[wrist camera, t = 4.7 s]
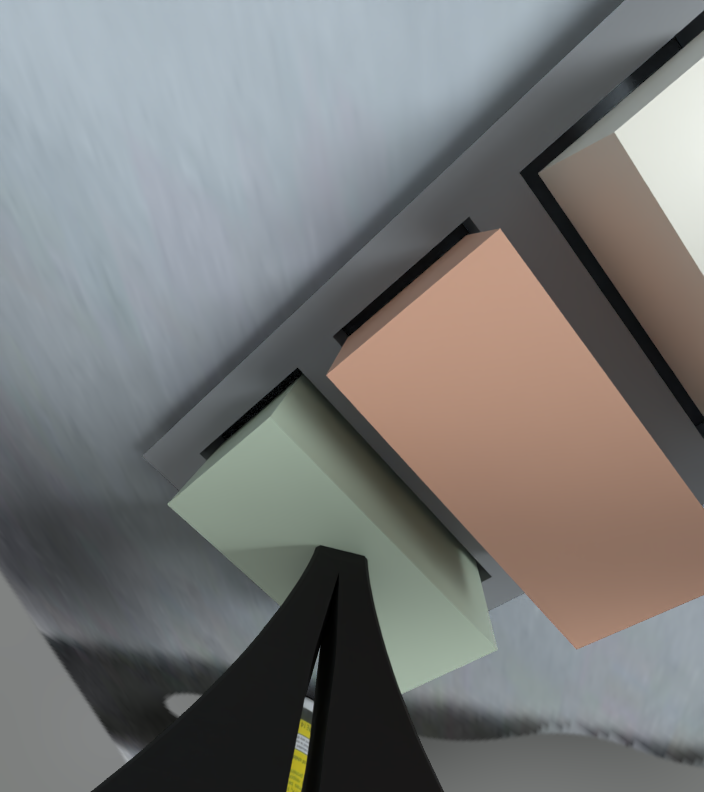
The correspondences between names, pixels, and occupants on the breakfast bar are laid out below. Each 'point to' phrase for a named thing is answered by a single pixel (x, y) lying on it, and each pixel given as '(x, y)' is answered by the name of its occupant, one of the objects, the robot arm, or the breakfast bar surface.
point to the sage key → (340, 529)
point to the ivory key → (648, 206)
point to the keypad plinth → (478, 211)
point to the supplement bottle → (301, 748)
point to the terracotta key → (527, 441)
